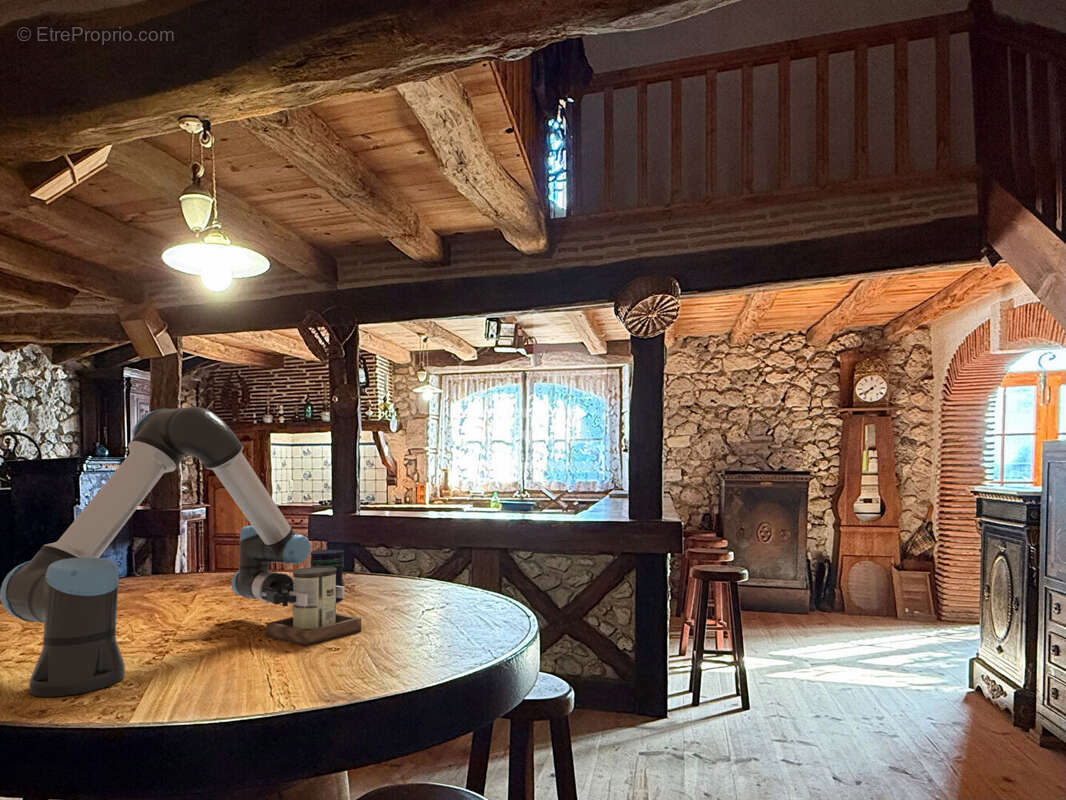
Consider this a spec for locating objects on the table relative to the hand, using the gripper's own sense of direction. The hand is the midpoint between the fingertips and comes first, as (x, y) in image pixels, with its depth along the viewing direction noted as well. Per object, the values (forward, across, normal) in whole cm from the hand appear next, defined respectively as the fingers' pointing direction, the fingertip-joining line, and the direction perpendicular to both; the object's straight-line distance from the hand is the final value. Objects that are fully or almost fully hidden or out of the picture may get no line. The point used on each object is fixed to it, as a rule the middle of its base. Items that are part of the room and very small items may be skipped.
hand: (325, 596), depth 158 cm
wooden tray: (-4, 0, -10) cm, 10 cm away
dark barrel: (-35, -26, -10) cm, 45 cm away
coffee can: (-4, 0, -8) cm, 9 cm away
